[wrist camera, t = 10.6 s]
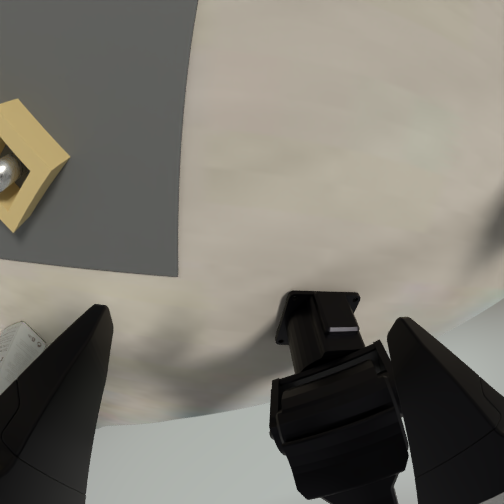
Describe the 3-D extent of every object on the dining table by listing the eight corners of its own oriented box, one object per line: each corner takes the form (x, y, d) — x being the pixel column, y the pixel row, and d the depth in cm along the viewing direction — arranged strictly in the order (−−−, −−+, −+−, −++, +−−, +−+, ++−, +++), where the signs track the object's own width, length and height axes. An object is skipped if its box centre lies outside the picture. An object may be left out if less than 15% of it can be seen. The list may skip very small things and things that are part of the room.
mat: (178, 274, 22) (177, 276, 22) (-40, 250, 19) (-42, 252, 18) (211, -64, 9) (211, -65, 9) (-61, 22, 5) (-63, 22, 5)
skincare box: (22, 318, 24) (-18, 409, 14) (48, 344, 27) (17, 434, 17) (2, 329, 25) (-33, 408, 15) (26, 352, 28) (-3, 430, 18)
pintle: (33, 173, 16) (6, 193, 13) (14, 174, 16) (-12, 194, 13) (30, 146, 15) (1, 163, 12) (11, 148, 14) (-18, 165, 12)
